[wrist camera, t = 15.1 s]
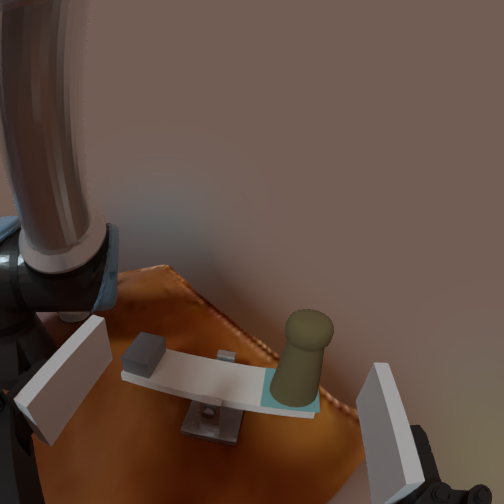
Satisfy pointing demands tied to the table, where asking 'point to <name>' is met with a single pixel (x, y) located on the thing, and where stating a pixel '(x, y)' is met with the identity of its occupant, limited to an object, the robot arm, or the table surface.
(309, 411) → the beam
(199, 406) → the stand
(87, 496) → the table surface
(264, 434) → the table surface
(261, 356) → the table surface
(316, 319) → the cork
